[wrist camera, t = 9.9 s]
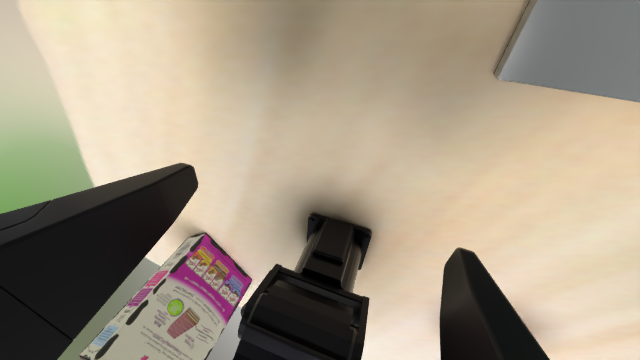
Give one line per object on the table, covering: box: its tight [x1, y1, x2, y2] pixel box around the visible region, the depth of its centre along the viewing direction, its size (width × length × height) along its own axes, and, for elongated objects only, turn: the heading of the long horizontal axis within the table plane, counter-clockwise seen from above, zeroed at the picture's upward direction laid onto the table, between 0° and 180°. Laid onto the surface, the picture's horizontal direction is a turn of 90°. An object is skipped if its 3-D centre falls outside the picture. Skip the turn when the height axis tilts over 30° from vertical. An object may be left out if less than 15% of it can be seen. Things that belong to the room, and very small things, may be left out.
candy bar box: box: [79, 233, 252, 360], centre depth 33 cm, size 11×5×16 cm, turn 33°
